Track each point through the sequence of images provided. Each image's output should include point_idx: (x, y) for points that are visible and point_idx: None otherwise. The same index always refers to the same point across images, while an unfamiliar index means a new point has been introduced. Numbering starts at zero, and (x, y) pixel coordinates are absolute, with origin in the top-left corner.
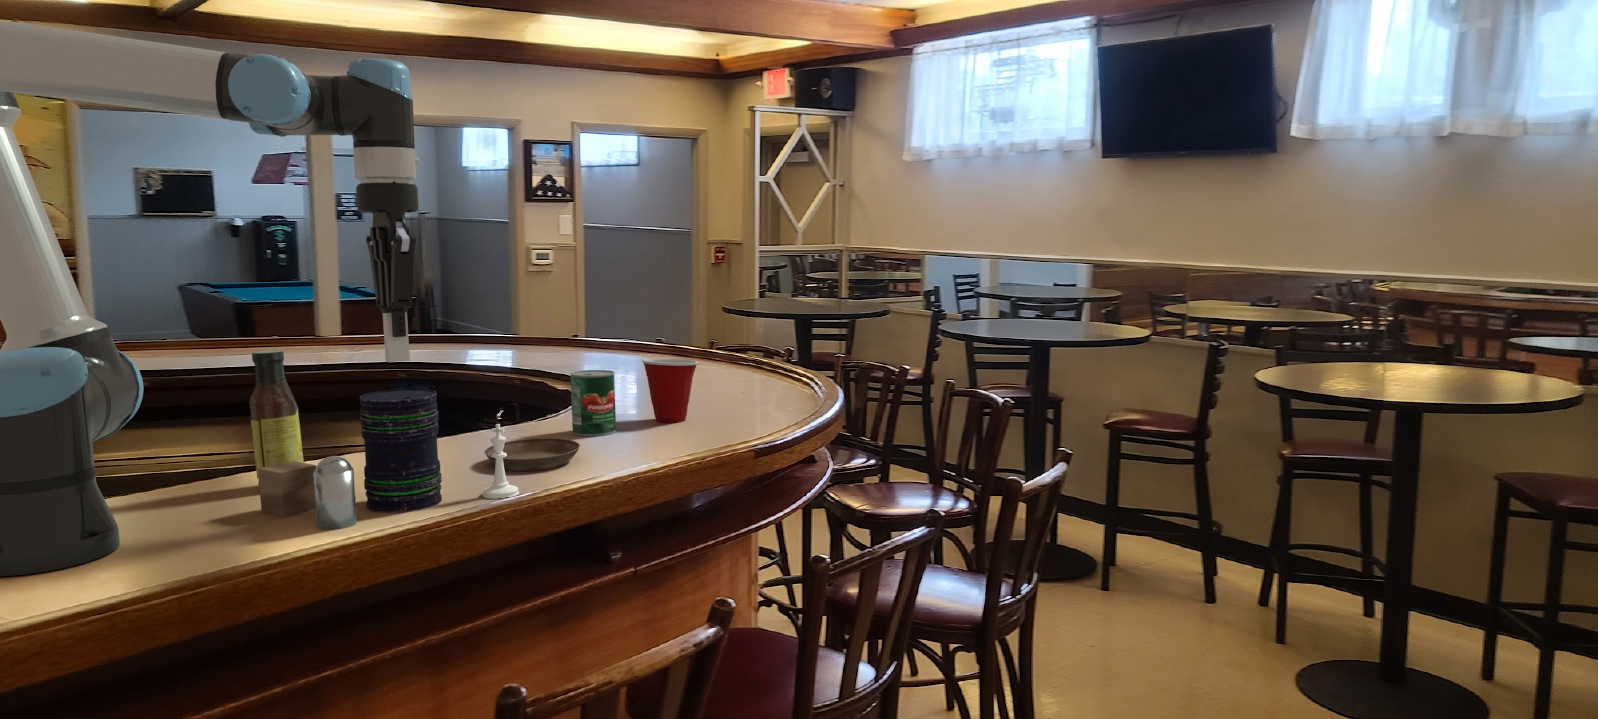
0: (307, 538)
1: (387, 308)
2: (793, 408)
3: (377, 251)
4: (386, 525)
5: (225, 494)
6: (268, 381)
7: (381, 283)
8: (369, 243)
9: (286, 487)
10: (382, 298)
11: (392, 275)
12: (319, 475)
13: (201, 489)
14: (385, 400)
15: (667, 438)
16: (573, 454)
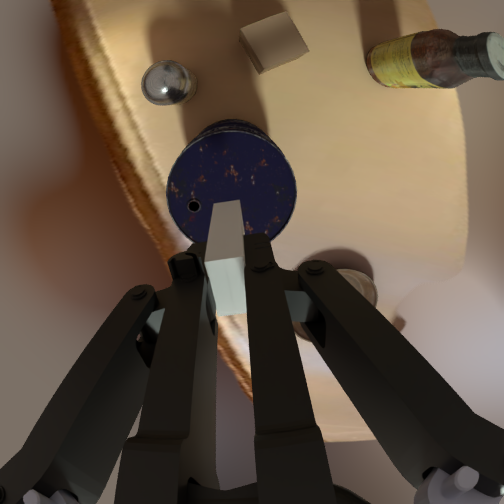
0: (140, 61)
1: (183, 274)
2: (353, 438)
3: (259, 486)
4: (148, 131)
5: (380, 16)
6: (454, 45)
7: (256, 333)
8: (486, 463)
9: (242, 37)
10: (249, 289)
11: (84, 375)
12: (150, 67)
13: (411, 10)
14: (187, 168)
15: (334, 388)
16: (299, 332)
